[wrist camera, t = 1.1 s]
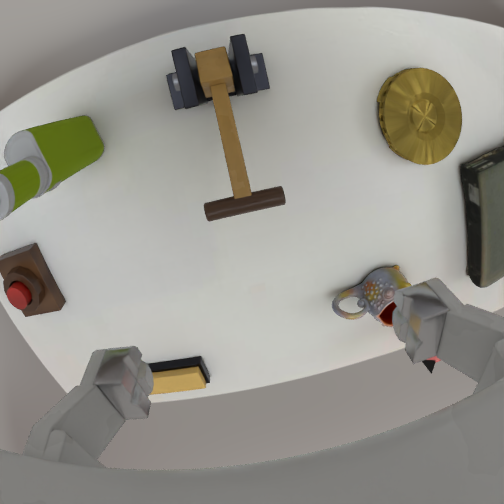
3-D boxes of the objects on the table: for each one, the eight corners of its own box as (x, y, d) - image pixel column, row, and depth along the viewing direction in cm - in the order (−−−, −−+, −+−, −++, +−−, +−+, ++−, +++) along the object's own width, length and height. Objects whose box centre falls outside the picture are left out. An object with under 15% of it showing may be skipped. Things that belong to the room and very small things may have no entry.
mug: (404, 261, 42) (427, 286, 36) (395, 299, 45) (414, 326, 39) (327, 269, 41) (343, 298, 36) (323, 309, 45) (336, 341, 39)
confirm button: (8, 283, 34) (2, 290, 33) (24, 278, 34) (18, 285, 33) (20, 303, 36) (14, 311, 34) (35, 300, 36) (30, 307, 34)
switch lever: (284, 206, 21) (287, 201, 19) (210, 223, 21) (204, 219, 19) (245, 59, 21) (244, 42, 19) (182, 74, 21) (175, 58, 19)
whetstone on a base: (122, 366, 47) (119, 379, 45) (200, 355, 47) (200, 370, 44) (135, 385, 50) (132, 398, 47) (210, 375, 49) (210, 389, 47)
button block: (2, 255, 36) (-12, 268, 32) (36, 242, 36) (22, 256, 32) (31, 308, 41) (20, 324, 37) (66, 301, 41) (56, 318, 37)
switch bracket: (268, 90, 30) (294, 86, 19) (176, 111, 31) (150, 119, 19) (260, 52, 28) (281, 28, 17) (167, 74, 29) (135, 61, 17)
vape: (84, 169, 32) (-21, 246, 15) (63, 127, 30) (-59, 173, 12) (109, 154, 32) (6, 222, 14) (86, 110, 29) (-34, 140, 12)
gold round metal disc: (440, 62, 29) (450, 62, 27) (458, 147, 35) (467, 151, 33) (363, 78, 30) (371, 77, 28) (389, 171, 36) (397, 176, 34)
